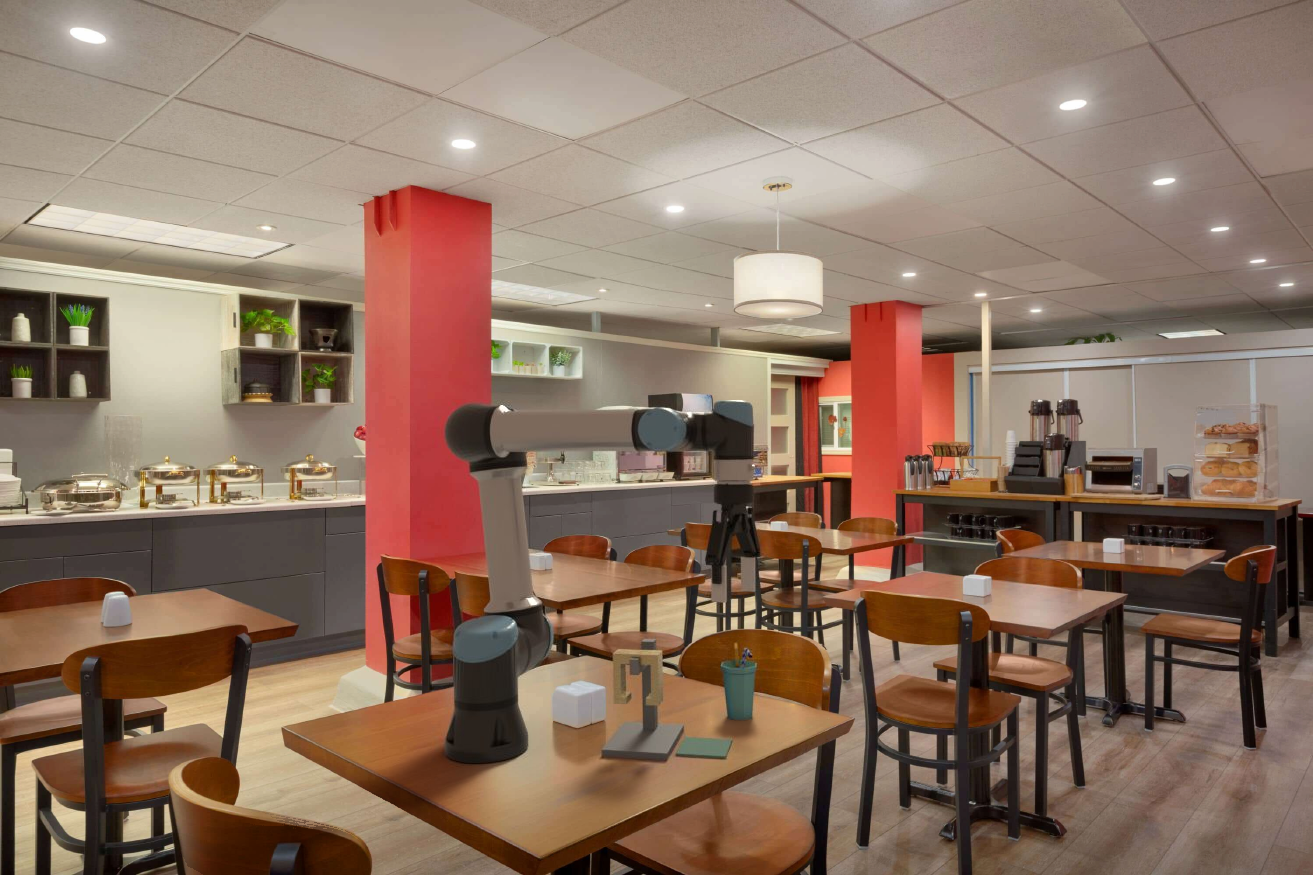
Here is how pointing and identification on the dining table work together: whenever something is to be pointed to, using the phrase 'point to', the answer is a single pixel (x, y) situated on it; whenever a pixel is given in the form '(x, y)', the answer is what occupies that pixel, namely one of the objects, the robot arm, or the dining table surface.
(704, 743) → the mat
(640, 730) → the stand
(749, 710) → the cup
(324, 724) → the dining table surface
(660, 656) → the c link
